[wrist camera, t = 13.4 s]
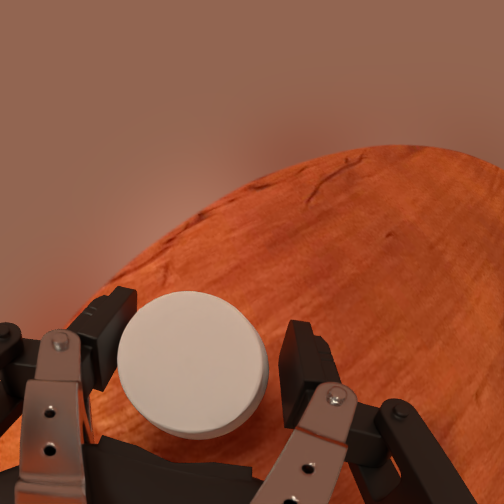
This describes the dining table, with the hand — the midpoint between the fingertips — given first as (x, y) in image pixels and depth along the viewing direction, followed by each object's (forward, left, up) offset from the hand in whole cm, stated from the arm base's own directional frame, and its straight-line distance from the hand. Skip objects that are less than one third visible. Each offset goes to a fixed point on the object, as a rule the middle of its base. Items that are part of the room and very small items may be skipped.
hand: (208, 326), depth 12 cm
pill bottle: (-1, -1, -5) cm, 6 cm away
